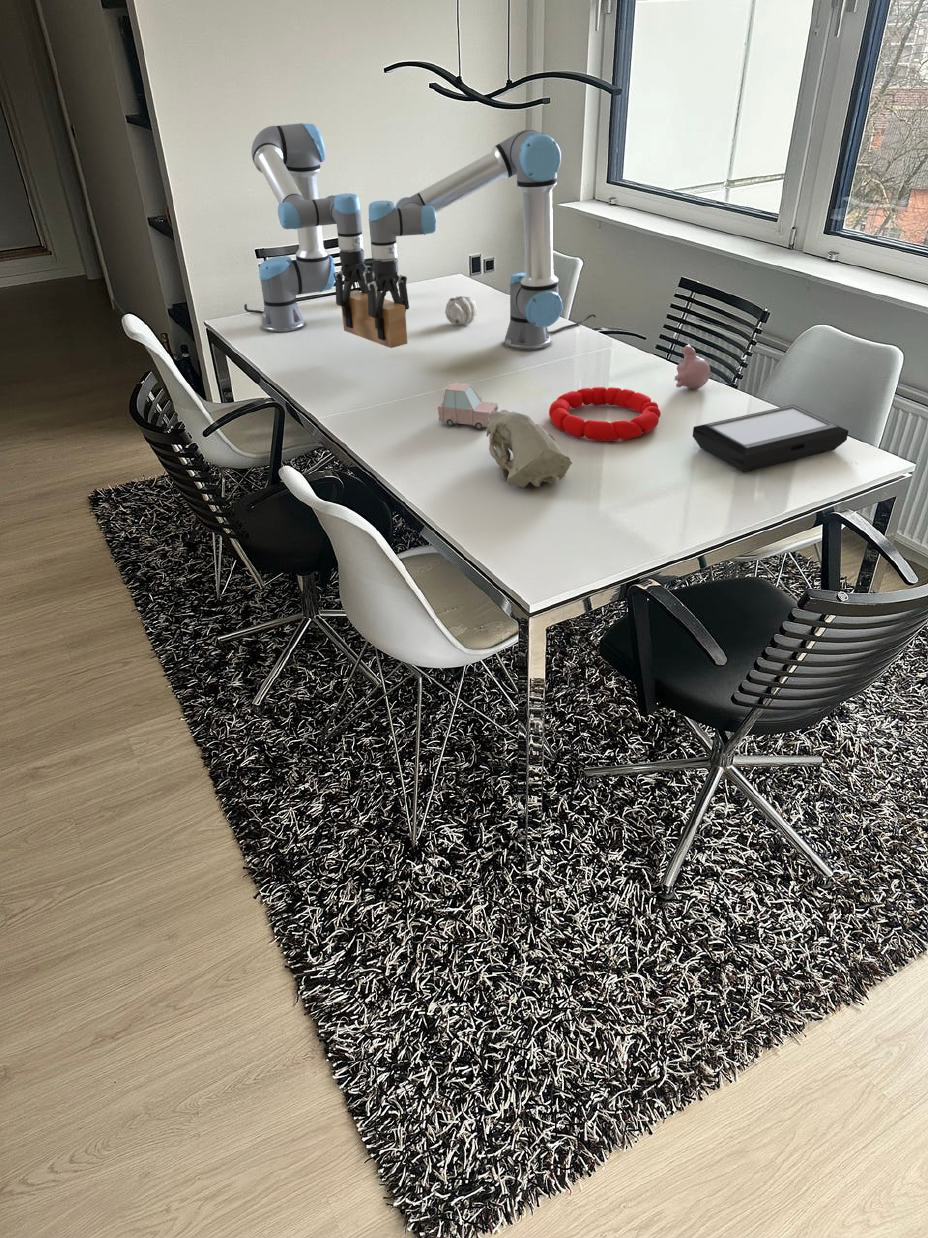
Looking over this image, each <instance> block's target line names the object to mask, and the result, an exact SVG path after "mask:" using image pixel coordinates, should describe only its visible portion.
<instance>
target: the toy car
mask: <svg viewBox="0 0 928 1238" xmlns="http://www.w3.org/2000/svg"><path fill="white" fill-rule="evenodd" d="M498 409H499V404H498V403H497V402H490V401H489V402H487V401H483V397H481V396H480V395H479V394H478V393H477V391H476V390H475V389H474V386H472V384H469V383H459V382H451V383H450V384H449V385H448V386H447V387H446V388H445V389H444V394H443V399H442V403H440V404H439V405H438V406H437V413H438V421H439V422H443V423H446V425H447V426H448V427H452V426H454V425H455V424H461V425H469V426H473V427H475V429H476V430H479V431H480V430H481V429H483V428H485V427H486V428H487V423H488V422H490V414H491V413H492V412H496V411H499V410H498Z"/></svg>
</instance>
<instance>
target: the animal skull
mask: <svg viewBox="0 0 928 1238" xmlns="http://www.w3.org/2000/svg"><path fill="white" fill-rule="evenodd" d="M485 436H486V438H487V437H489V438H488V440H489V444H488V445H489V446H488V450H489V454H490V456H491V457H492V458H493V459H494V460H495V462H496V464H497V466H499V468H500V470H501V471H502V472H501V478H502V479H507V480H506V484H507V486H517V487H518V486H519V488H523V489H524V488H526V486H527V485H529V483H531V485H533V486H534V487H536V488H540V485H541V484H542V482H544V483H549V484H550V485H553V484H555V483H556V482H557V480H561V479H563V478H565V476H566V474H567V472H568V471H569V469H570V467H571V466H572V464H573V462H572V461H571V458H570V457H568V456H567V455H565V453H564V451H562V449H561V448H560V446H559V444H557V443H556V439H555V438H554V436H553V435H551V434H550V433H548V432H547V431H546V430H545V429H544V428H542V427H541V426H539V425H538V424H537V423H536V424H535V422H534V421H533V419H532V418H531V417H530V416H529V415H527V414H524V413H519V412H515V411H509V410H507V409H502V410H500V411H499V410H497V411H496V412H492V413H491V414H490V422H488V423H487V427H486V435H485ZM511 453H512V454H511ZM511 455H512V457H513V458H512V460H511ZM507 474H508V475H507Z"/></svg>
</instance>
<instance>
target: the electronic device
mask: <svg viewBox="0 0 928 1238" xmlns="http://www.w3.org/2000/svg"><path fill="white" fill-rule="evenodd" d="M849 432H850V431H849V430H848V429H847V428H844V427H841V426H839V425H838V424H836V423H834V422H831V421H829V420H827V419H825V418H822V417H821V416H819V415H816V414H814V413H812V412H810V411H808V410H806V409H804V408H802V407H799V406H797V405H795V404H790V405H786V406H781V407H778V408H771V409H768V410H763V411H759V412H755V413H749V414H745V415H741V416H736V417H731V418H727V419H722V420H718V421H714V422H709V423H704V424H700V425H696V426H693V428H692V437H693V439H694V440H695V442H696V443H697V445H698V447H699V448H700V449H702V450H704V451H705V452H707V453H709V454H710V455H712V456H714V457H715V458H718V459H720V461H723V462H724V463H726V464H728V465H730V466H732V467H734V468H735V469H736V470H738V471H739V472H741V473H745V472H747V471H752V470H756V469H760V468H764V467H765V468H766V467H769V466H772V465H778V464H781V463H784V462H789V461H794V460H798V459H801V458H805V457H809V456H814V455H817V454H822V453H825V452H830V451H834V450H836V449H837V448H839V447H840V446H841V445H843V444H844V443H845V442H846V441H847V440H848V435H849Z"/></svg>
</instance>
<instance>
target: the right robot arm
mask: <svg viewBox="0 0 928 1238" xmlns="http://www.w3.org/2000/svg"><path fill="white" fill-rule="evenodd" d="M561 163H562V152H561V149H560V146H559V145H558V143H557V142H556V141H555V140H554V138H553V137H551V136H550V135H548V134H547V133H543V132H539V131H537V130H534V129H523V130H521V131H518V132H516V133H515V134H512V135H511V136H510V137H507V138H505V140H503V141H501V142H499V143H498V144H496V145H494V146H492V150H491V151H490V152H489V153H487V154H485V155H483V156H482V157H480V158H478V159H476V160H474V161H473V162H471V163H469V164H467V165H465V166H464V167H462V168H460V169H458V170H456V171H454V172H453V173H450V174H449V175H447V176H445V177H444V178H442V179H440V180H438V181H437V182H435V183H433V184H431V185H429V186H427V187H426V188H424V189H422V190H420V191H419V192H417V193H415V194H413V195H411V196H409V197H408V196H406V197H405V196H404V197H402V198H400V199H398V200H397V202H396V204H394V202H393V201H391V200H375V201H371V202H370V203H369V205H368V225H369V236H370V248H371V250H370V251H371V258H373V259H374V260H373V261H372V262H373V272H374V275H375V277H374V281H373V282H371V283H367V284H366V287H367V290H368V315H369V316H370V317H373V318H374V319H375V328H376V329H377V331H378V339H381V340H385V332H384V319H383V318H381V315H382V308H383V303H384V299H385V297H386V296H387V293H388V292H390V295H391V297H392V300H393V301H392V302H395V303H398V304H402V305H405V314H406V313H407V310H409V309H410V304H409V296H408V289H407V281H408V277H407V276H405V275H402V274H399V261H398V258H397V257H398V248H397V247H398V246H397V237H405V236H407V237H408V236H422V235H423V236H426V235H429V234H434V233H435V232H436V230H437V213H439V212H441V211H443V210H444V209H447V208H448V207H450V206H452V205H454V204H456V203H458V202H459V201H461V200H463V199H465V198H467V197H469V196H470V195H472V194H474V193H476V192H478V191H480V190H482V189H484V188H485V187H487V186H488V185H491V184H493V183H494V182H497V181H498V180H501V179H502V178H504V179H506V180H507V179H510V178H511V177H513V176H515V175H516V187H517V188H518V189H519V190H520V191H521V193H522V213H523V242H524V243H523V244H524V245H523V246H524V247H523V248H524V271H525V272H517V273H513V274H512V275H511V276H510V280H509V296H510V297H509V315H510V316H509V323H508V327H507V330H506V334H505V335H504V337H505V338H504V345H505V347H506V348H509V349H511V350H515V351H538V350H543V349H546V348H547V347H549V346H550V344H551V337H550V334H551V335H552V334H555V333H558V332H561V331H562V330H566V329H568V328H572V327H577V326H579V325H581V324H583V323H584V322H585V321H587V320H588V319H590V318H591V317H593V318H597V315H596V314H595V313H591V314H589V315H587V316H586V317H584V318H582V319H581V320H580V321H579V322H576V323H572V324H568V325H564V326H562V327H559V328H557V329H554V330H548V327H550V326H552V325H553V324H555V323H556V322H557V321H558V320H559V319H560V317H561V315H562V313H563V306H564V305H563V301H562V298H561V296H560V295H559V278H558V277H557V276H556V275H555V274H554V254H553V253H554V250H553V249H554V248H553V242H554V241H553V189H554V188H555V187H556V185H557V184H558V179H557V178H558V177H557V175H558V171H559V169H560V167H561ZM397 284H398V285H397ZM376 286H377V291H375V289H376ZM381 291H382V292H381ZM376 293H377V297H376Z"/></svg>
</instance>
